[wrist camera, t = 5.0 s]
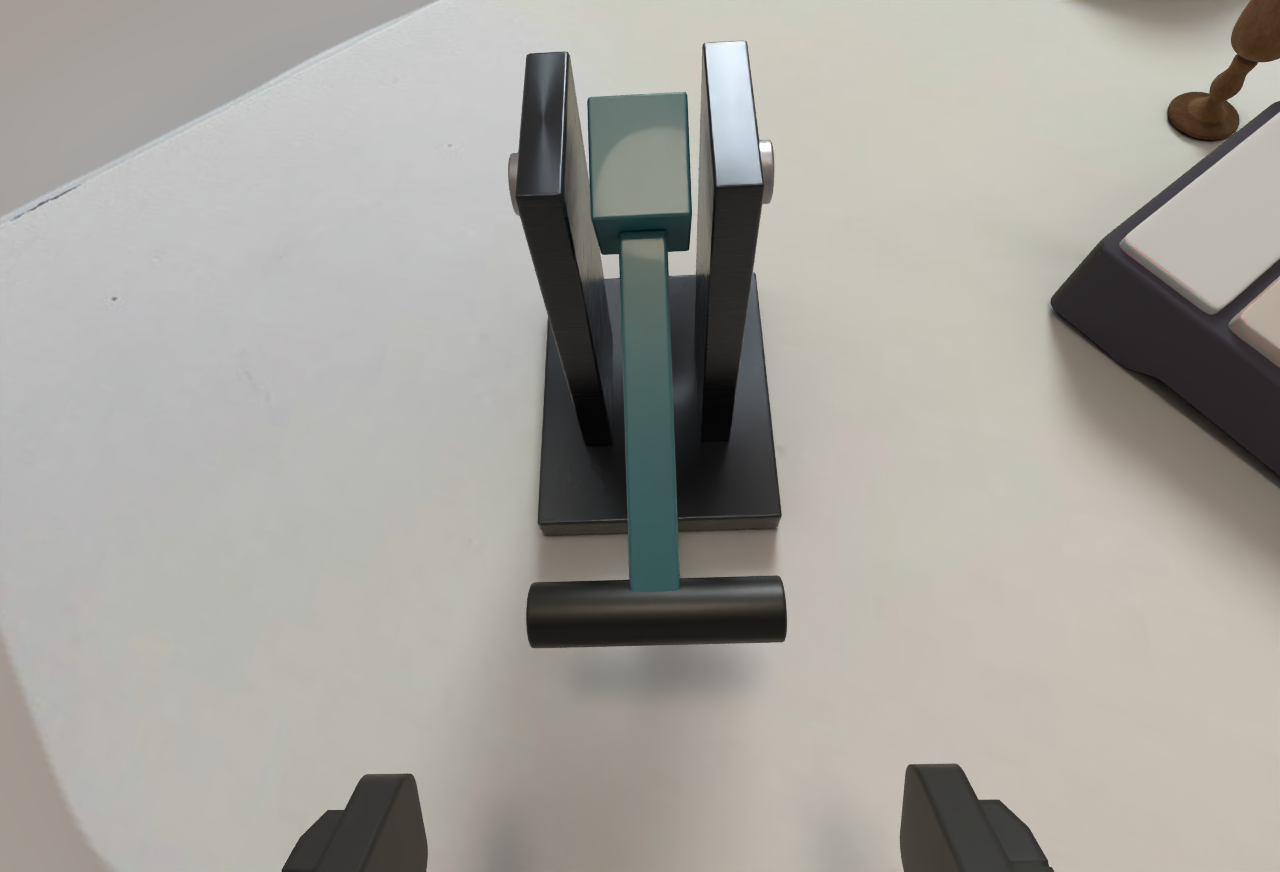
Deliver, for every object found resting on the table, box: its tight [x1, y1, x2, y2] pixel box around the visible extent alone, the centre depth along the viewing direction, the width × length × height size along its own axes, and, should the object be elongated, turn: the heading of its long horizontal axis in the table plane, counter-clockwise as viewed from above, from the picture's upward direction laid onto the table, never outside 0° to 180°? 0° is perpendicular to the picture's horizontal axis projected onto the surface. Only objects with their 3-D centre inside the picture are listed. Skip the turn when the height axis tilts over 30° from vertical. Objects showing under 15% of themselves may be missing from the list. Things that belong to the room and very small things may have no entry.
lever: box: [526, 92, 787, 648], centre depth 16 cm, size 12×6×2 cm, turn 2°
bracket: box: [508, 41, 782, 535], centre depth 21 cm, size 10×8×13 cm
